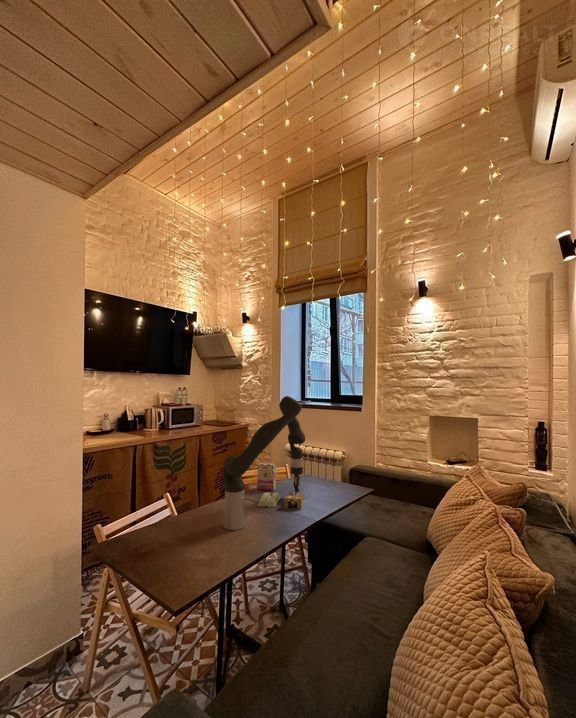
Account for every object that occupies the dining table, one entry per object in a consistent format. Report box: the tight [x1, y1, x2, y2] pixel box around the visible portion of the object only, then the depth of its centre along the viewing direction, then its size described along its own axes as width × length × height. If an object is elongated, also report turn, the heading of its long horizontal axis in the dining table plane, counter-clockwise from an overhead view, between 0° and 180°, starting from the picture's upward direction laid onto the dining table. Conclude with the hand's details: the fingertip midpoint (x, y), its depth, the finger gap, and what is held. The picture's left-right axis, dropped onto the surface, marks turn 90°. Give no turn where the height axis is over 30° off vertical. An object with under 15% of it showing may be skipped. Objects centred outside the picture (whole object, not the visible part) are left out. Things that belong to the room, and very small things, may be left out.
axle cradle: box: [257, 492, 281, 508], centre depth 190 cm, size 10×14×3 cm
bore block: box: [283, 492, 305, 510], centre depth 188 cm, size 9×16×6 cm, turn 170°
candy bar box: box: [256, 462, 277, 492], centre depth 214 cm, size 11×5×16 cm, turn 73°
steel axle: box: [289, 491, 301, 508], centre depth 190 cm, size 14×4×4 cm, turn 169°
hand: (297, 494), depth 198 cm, fingers closed
